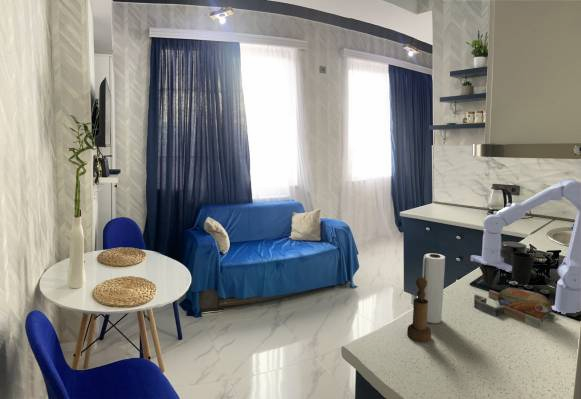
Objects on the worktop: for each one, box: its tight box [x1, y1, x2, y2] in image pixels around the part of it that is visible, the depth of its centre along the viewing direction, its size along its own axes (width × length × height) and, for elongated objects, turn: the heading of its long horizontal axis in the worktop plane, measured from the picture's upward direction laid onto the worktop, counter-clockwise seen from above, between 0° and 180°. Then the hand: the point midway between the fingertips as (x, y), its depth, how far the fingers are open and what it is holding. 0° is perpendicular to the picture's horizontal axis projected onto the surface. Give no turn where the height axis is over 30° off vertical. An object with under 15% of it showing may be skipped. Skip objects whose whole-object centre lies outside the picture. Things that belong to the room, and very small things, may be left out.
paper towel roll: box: [422, 253, 446, 324], centre depth 121 cm, size 7×6×21 cm
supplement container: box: [500, 241, 528, 266], centre depth 166 cm, size 10×10×12 cm
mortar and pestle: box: [407, 276, 432, 343], centre depth 111 cm, size 7×6×18 cm
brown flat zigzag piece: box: [473, 289, 556, 329], centre depth 128 cm, size 17×22×2 cm
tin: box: [497, 286, 552, 321], centre depth 125 cm, size 15×3×8 cm, turn 44°
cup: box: [511, 252, 535, 285], centre depth 150 cm, size 8×8×12 cm
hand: (488, 285), depth 137 cm, fingers closed
